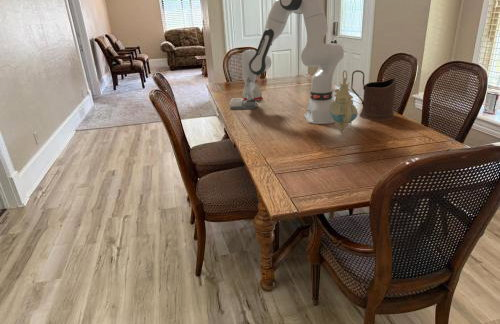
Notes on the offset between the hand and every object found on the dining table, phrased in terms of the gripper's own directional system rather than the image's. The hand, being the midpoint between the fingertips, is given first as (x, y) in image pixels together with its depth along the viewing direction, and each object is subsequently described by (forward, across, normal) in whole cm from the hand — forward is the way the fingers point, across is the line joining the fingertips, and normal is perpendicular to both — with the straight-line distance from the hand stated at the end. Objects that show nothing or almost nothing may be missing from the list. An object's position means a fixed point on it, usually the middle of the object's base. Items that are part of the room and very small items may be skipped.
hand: (250, 98), depth 220 cm
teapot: (+6, -50, -52) cm, 73 cm away
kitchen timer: (+6, +23, +3) cm, 24 cm away
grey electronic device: (+5, 0, +5) cm, 7 cm away
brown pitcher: (+6, -21, -72) cm, 75 cm away
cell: (+3, 0, 0) cm, 3 cm away
